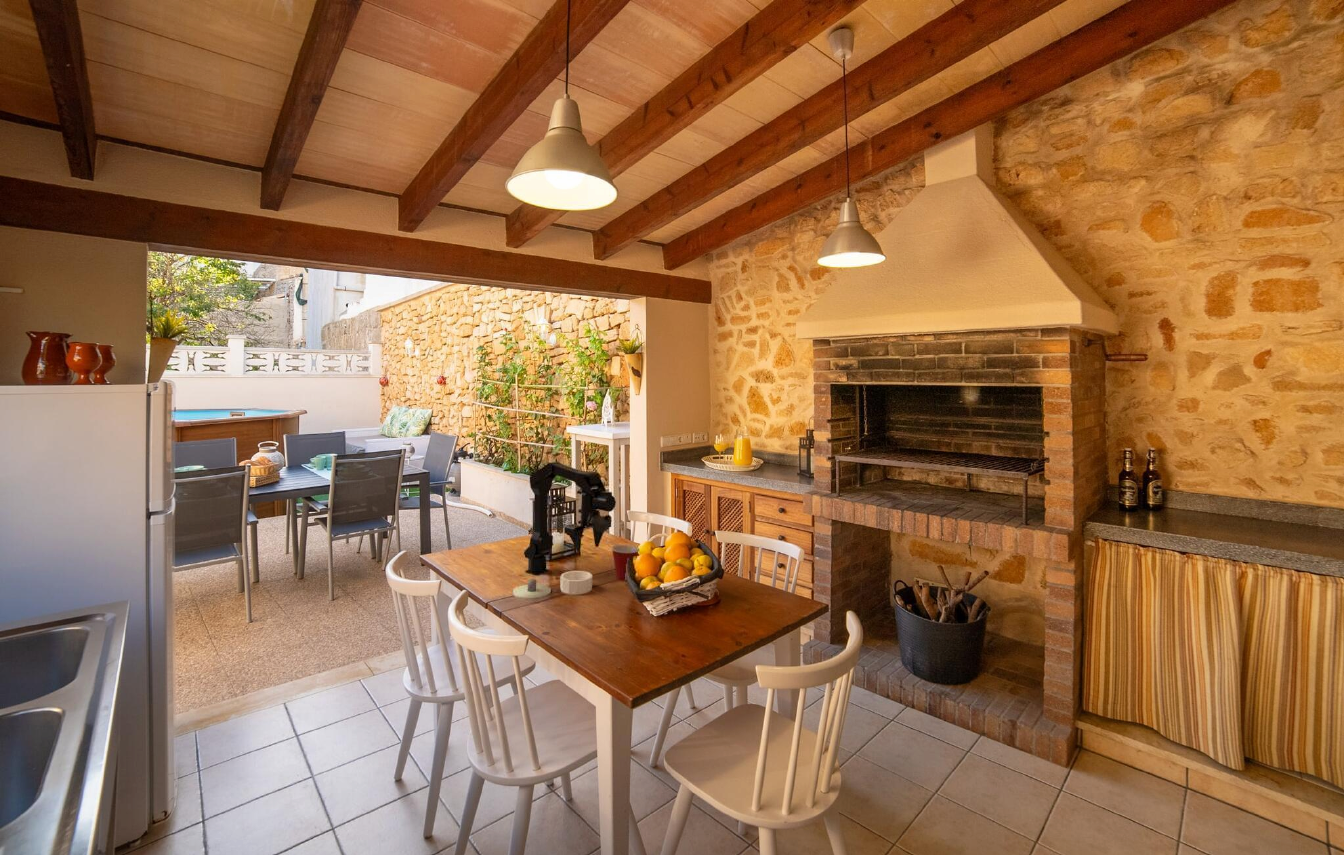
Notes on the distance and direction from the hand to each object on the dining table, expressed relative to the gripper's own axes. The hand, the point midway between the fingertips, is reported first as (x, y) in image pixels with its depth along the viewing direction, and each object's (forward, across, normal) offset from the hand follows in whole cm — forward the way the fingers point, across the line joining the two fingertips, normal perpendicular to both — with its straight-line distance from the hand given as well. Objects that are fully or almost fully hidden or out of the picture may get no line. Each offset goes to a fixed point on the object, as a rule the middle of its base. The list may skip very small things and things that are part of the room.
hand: (587, 549), depth 215 cm
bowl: (+14, -4, +1) cm, 15 cm away
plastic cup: (+14, +16, -4) cm, 22 cm away
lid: (+14, -16, +11) cm, 24 cm away
